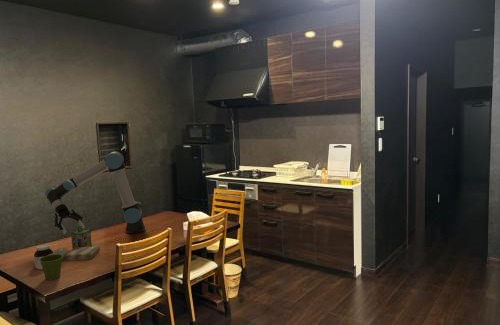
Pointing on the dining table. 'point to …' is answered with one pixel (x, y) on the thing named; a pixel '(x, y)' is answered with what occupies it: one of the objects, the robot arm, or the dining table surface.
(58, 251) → the grey rounded cylinder
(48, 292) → the dining table surface
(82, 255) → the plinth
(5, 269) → the dining table surface
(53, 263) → the plant pot
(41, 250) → the spread jar
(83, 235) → the chalk box
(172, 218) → the dining table surface
